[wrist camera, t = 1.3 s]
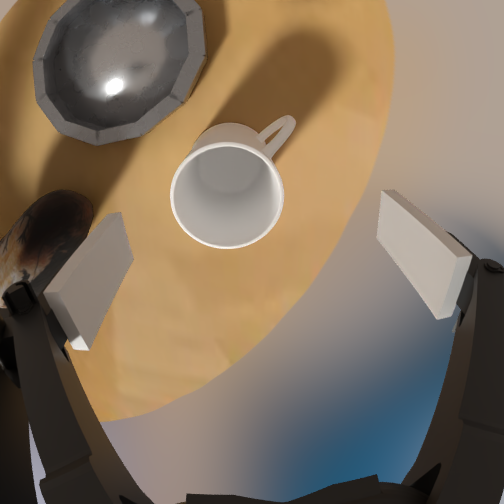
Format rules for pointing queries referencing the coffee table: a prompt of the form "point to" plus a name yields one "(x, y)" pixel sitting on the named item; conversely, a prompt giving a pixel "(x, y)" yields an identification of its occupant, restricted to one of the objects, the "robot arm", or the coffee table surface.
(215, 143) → the mug
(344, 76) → the coffee table surface
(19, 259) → the decorative stone
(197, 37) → the gray metal bowl
